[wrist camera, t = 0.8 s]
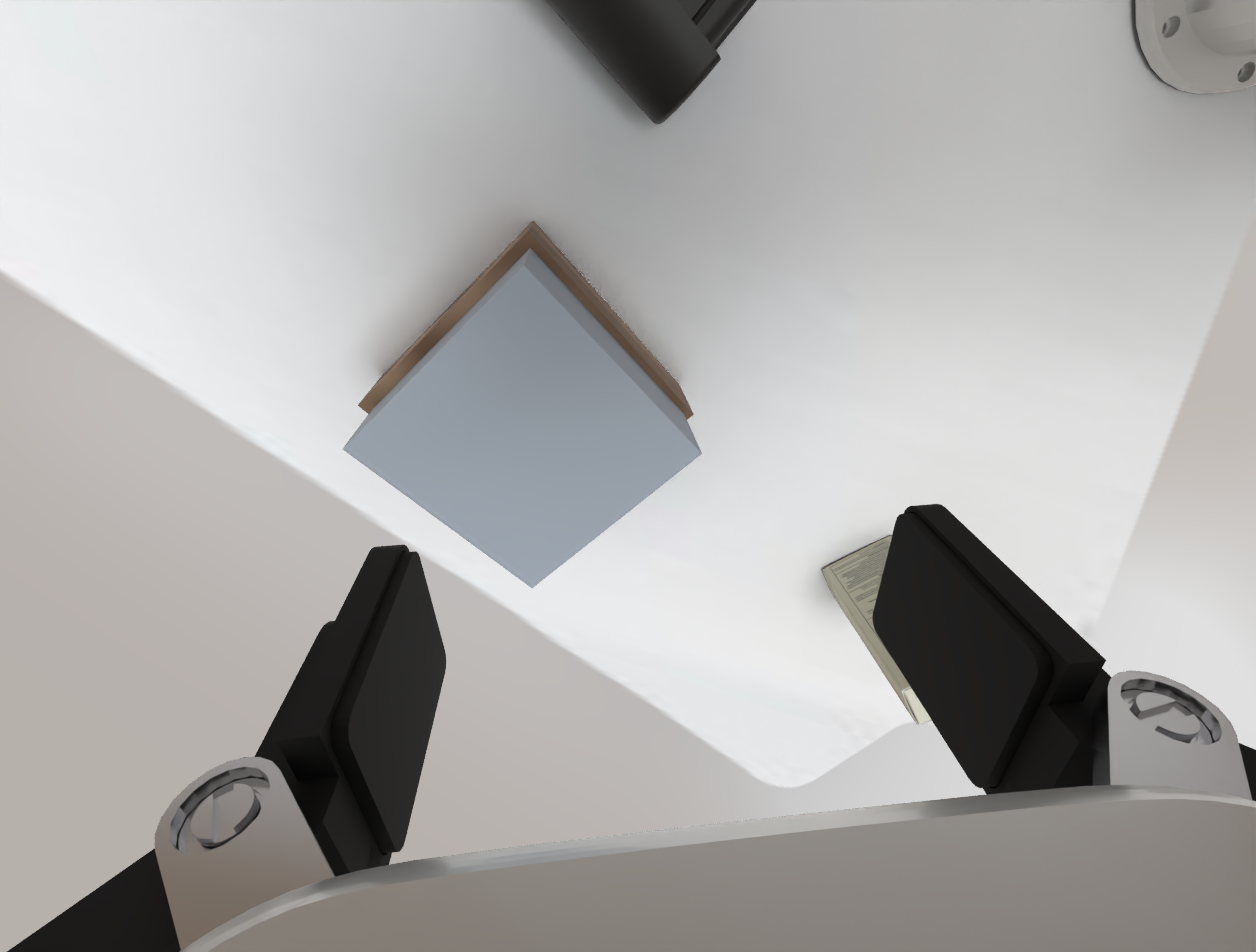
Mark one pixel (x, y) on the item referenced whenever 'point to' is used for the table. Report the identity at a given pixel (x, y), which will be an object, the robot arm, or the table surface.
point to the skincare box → (870, 613)
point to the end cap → (654, 43)
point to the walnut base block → (573, 282)
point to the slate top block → (526, 426)
